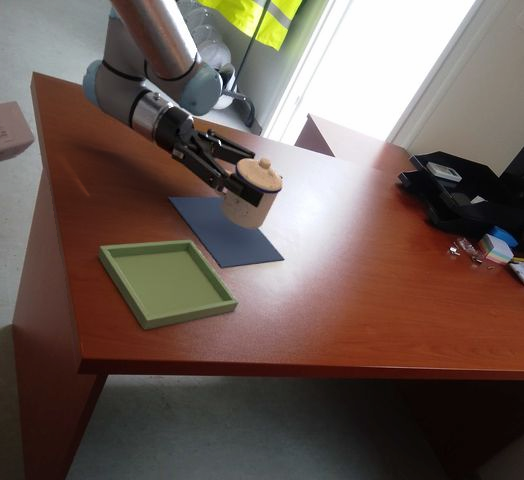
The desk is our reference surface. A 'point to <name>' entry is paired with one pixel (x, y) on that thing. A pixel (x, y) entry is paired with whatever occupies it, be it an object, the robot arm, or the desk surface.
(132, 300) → the tray
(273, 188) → the teacup with lid
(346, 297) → the desk surface
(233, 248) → the mat
